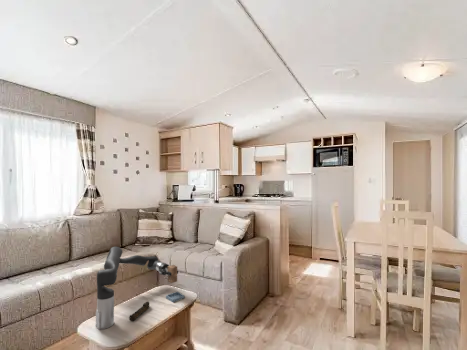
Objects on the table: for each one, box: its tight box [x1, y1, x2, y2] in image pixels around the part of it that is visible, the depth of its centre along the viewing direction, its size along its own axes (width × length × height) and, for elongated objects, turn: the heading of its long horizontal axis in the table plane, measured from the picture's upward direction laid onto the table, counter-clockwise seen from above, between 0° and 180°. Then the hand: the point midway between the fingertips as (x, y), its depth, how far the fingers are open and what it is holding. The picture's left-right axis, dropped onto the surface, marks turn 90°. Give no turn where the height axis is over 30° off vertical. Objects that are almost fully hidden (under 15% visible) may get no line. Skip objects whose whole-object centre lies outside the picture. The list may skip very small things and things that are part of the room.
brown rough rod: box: [128, 301, 150, 322], centre depth 168 cm, size 19×4×5 cm, turn 162°
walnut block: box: [167, 264, 178, 284], centre depth 191 cm, size 5×5×11 cm
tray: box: [165, 291, 185, 303], centre depth 190 cm, size 10×10×2 cm
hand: (174, 273), depth 189 cm, fingers closed on walnut block, 5 cm apart
